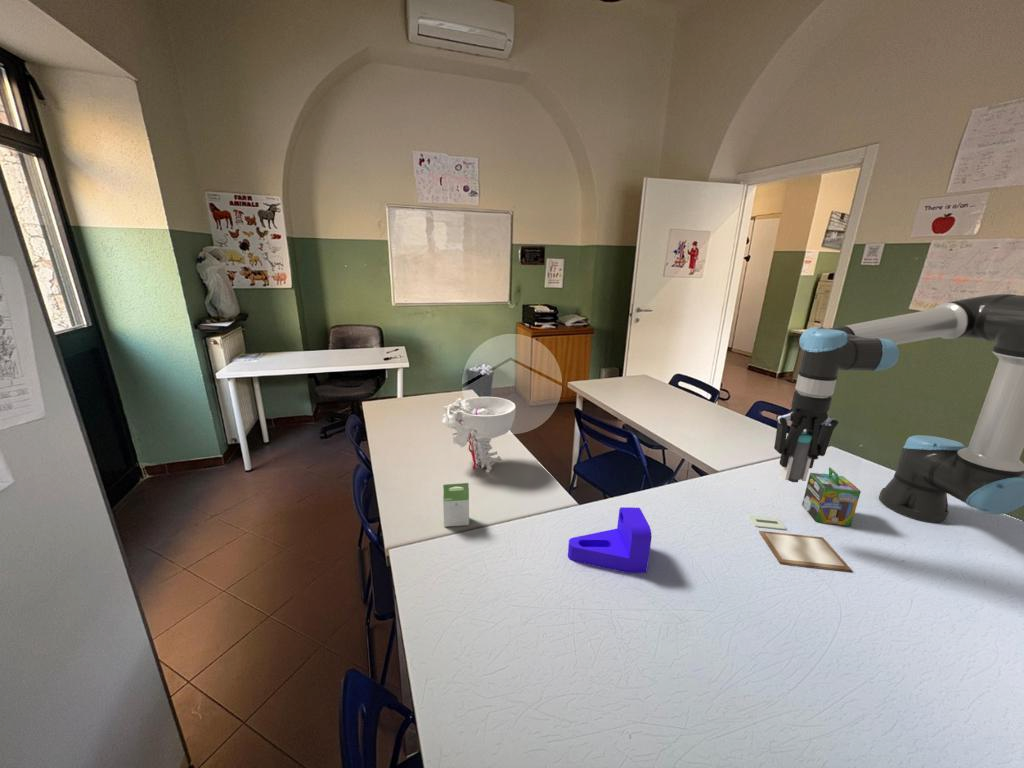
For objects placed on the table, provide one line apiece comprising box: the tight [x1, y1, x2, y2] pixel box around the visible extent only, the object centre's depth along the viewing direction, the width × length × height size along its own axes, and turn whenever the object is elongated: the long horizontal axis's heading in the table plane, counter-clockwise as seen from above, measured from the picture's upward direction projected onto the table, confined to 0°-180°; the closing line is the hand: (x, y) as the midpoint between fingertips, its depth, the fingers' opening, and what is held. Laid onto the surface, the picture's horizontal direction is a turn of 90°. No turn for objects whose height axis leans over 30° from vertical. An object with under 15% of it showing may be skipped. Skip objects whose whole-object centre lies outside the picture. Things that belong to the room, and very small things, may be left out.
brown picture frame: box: [758, 530, 853, 573], centre depth 104 cm, size 16×12×1 cm
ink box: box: [442, 482, 470, 528], centre depth 111 cm, size 7×4×13 cm, turn 97°
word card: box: [747, 514, 787, 531], centre depth 115 cm, size 8×5×1 cm, turn 81°
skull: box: [441, 396, 517, 473], centre depth 139 cm, size 25×19×23 cm
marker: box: [787, 430, 812, 483], centre depth 103 cm, size 4×4×13 cm
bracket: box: [567, 506, 652, 574], centre depth 99 cm, size 18×11×12 cm, turn 91°
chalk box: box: [801, 467, 861, 527], centre depth 117 cm, size 9×9×15 cm
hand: (792, 477), depth 105 cm, fingers closed on marker, 3 cm apart
